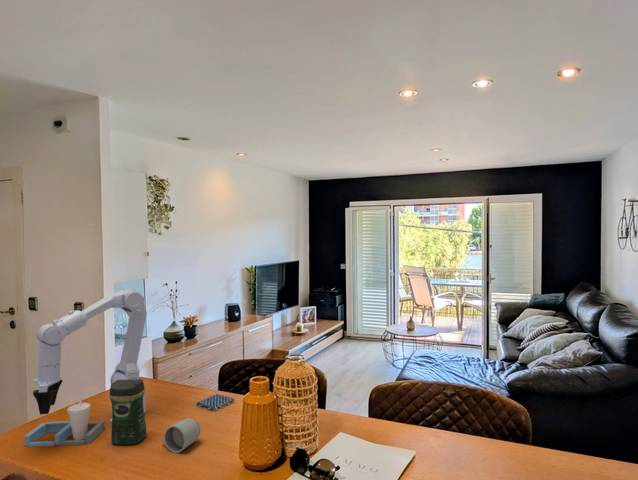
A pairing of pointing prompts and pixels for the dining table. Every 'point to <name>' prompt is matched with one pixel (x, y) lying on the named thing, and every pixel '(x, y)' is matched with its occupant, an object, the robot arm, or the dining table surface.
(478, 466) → the dining table surface
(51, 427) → the frame
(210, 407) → the woven mat
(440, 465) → the dining table surface
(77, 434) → the smoothie
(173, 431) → the grey hollow cylinder
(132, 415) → the coffee jar
